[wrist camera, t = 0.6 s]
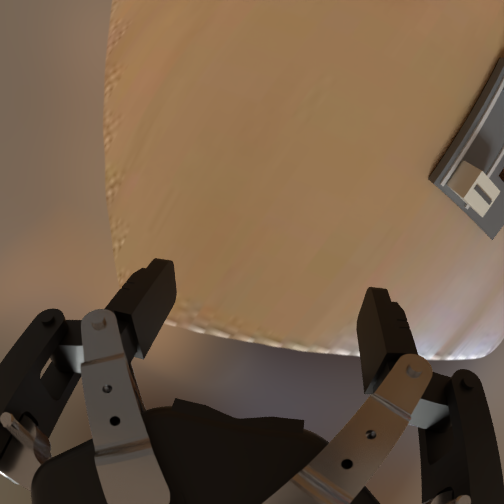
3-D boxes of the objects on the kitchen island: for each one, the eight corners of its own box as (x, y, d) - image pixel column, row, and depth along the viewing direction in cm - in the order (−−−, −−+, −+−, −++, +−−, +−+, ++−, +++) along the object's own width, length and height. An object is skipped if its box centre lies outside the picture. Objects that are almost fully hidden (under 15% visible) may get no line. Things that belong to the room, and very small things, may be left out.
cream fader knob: (462, 159, 29) (483, 171, 24) (480, 178, 29) (501, 192, 25) (446, 184, 31) (464, 198, 26) (464, 202, 31) (483, 218, 27)
